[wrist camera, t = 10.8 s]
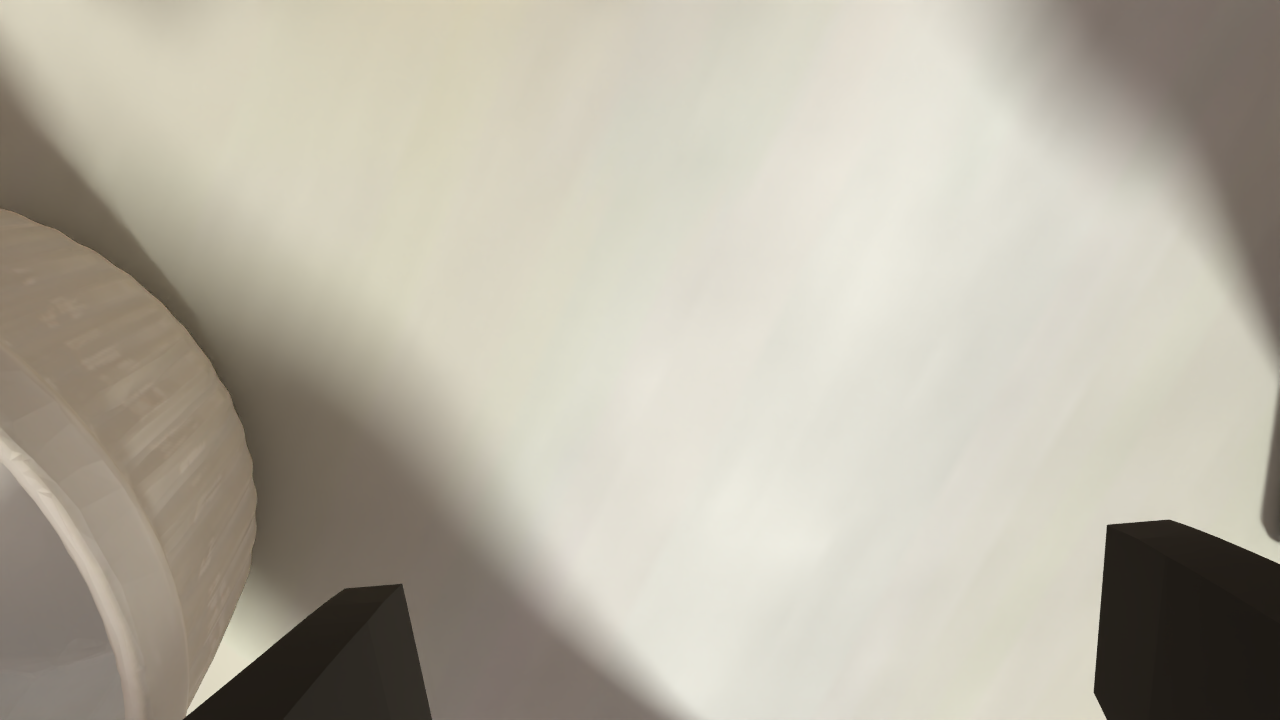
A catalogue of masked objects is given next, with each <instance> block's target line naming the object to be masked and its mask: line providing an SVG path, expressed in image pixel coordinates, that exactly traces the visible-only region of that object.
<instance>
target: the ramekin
mask: <svg viewBox="0 0 1280 720" xmlns="http://www.w3.org/2000/svg"><path fill="white" fill-rule="evenodd" d="M252 473H253V460H252V458H251V455H250V453H249V450H248V447H247V444H246V440H245V432H244V428H243V426H242V423H241V421H240V419H239V417H238V415H237V413H236V411H235V409H234V406H233V403H232V399H231V396H230V394H229V392H228V391H227V389H226V388H225V387H224V385H223V384H222V382H221V381H220V380H219V378H218V376H217V374H216V372H215V370H214V368H213V366H212V364H211V362H210V360H209V359H208V358H207V356H206V355H205V354H204V353H203V351H202V350H201V349H200V347H199V346H198V345H197V344H196V342H195V341H194V339H193V338H192V337H191V335H190V334H189V332H188V331H187V329H186V328H185V327H184V326H183V325H182V324H181V323H180V322H179V321H178V320H177V319H176V318H175V317H174V316H173V315H172V314H171V313H170V312H169V310H168V309H167V308H166V307H165V306H164V305H163V304H162V302H160V301H159V300H158V299H157V298H155V297H154V296H153V295H152V294H151V293H149V292H148V291H147V290H146V289H145V288H144V287H143V286H142V285H140V284H139V283H138V282H137V281H136V280H135V279H134V278H133V277H132V276H131V275H130V274H128V273H126V272H125V271H123V270H121V269H119V268H118V267H116V266H115V265H113V264H112V263H111V262H109V261H108V260H107V259H105V258H104V257H103V256H101V255H100V254H99V253H97V252H96V251H94V250H92V249H90V248H88V247H86V246H83V245H81V244H79V243H77V242H75V241H73V240H72V239H70V238H69V237H67V236H66V235H65V234H63V233H62V232H60V231H59V230H57V229H54V228H51V227H48V226H45V225H42V224H39V223H36V222H34V221H32V220H30V219H28V218H26V217H25V216H23V215H20V214H18V213H15V212H13V211H8V210H4V209H0V720H183V719H184V718H185V717H186V713H187V709H188V708H189V706H190V704H191V702H192V700H193V698H194V696H195V694H196V692H197V690H198V688H199V686H200V684H201V682H202V680H203V678H204V676H205V674H206V672H207V670H208V668H209V666H210V664H211V662H212V661H213V659H214V656H215V654H216V652H217V649H218V647H219V645H220V643H221V640H222V638H223V636H224V634H225V631H226V629H227V627H228V624H229V622H230V620H231V617H232V615H233V613H234V610H235V608H236V605H237V603H238V600H239V598H240V595H241V593H242V591H243V588H244V586H245V583H246V580H247V578H248V575H249V573H250V568H251V562H252V556H251V551H252V548H253V545H254V542H255V539H256V531H257V525H256V518H255V511H256V507H257V500H258V499H257V492H256V488H255V485H254V482H253V476H252Z"/></svg>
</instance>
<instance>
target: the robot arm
mask: <svg viewBox="0 0 1280 720" xmlns="http://www.w3.org/2000/svg"><path fill="white" fill-rule="evenodd" d="M1094 694H1095V696H1096V698H1097V700H1098V702H1099V704H1100V706H1101V708H1102V710H1103V712H1104V714H1105V716H1106V719H1107V720H1280V564H1278V563H1276V562H1273V561H1271V560H1269V559H1267V558H1264V557H1262V556H1260V555H1258V554H1255V553H1253V552H1251V551H1248V550H1246V549H1244V548H1241V547H1239V546H1237V545H1234V544H1232V543H1230V542H1227V541H1225V540H1223V539H1220V538H1218V537H1215V536H1213V535H1210V534H1208V533H1205V532H1203V531H1200V530H1197V529H1195V528H1192V527H1189V526H1186V525H1184V524H1181V523H1178V522H1175V521H1172V520H1159V521H1147V522H1135V523H1123V524H1111V525H1107V533H1106V545H1105V558H1104V570H1103V583H1102V595H1101V608H1100V620H1099V633H1098V645H1097V658H1096V670H1095V683H1094ZM183 720H432V718H431V713H430V708H429V704H428V699H427V695H426V690H425V686H424V681H423V676H422V672H421V667H420V663H419V658H418V654H417V649H416V644H415V640H414V635H413V631H412V626H411V622H410V617H409V612H408V608H407V603H406V599H405V594H404V590H403V585H402V584H395V585H383V586H371V587H360V588H348V589H344V590H342V591H341V592H340V593H338V594H337V595H335V596H334V597H332V598H331V599H330V600H328V601H327V602H326V603H324V604H323V605H322V606H321V607H319V608H318V609H317V610H316V611H314V612H313V613H312V614H310V615H309V616H308V617H307V618H306V619H304V620H303V621H302V622H301V623H299V624H298V625H297V626H296V627H295V628H293V629H292V630H291V631H290V632H288V633H287V634H286V635H285V636H284V637H282V638H281V639H280V640H279V641H278V642H276V643H275V644H274V645H273V646H272V647H270V648H269V649H268V650H267V651H266V652H264V653H263V654H262V655H261V656H260V657H258V658H257V659H256V660H255V661H254V662H252V663H251V664H250V665H249V666H248V667H246V668H245V669H244V670H243V671H241V672H240V673H239V674H238V675H237V676H235V677H234V678H233V679H232V680H230V681H229V682H228V683H227V684H226V685H224V686H223V687H222V688H221V689H220V690H218V691H217V692H216V693H215V694H213V695H212V696H211V697H210V698H209V699H207V700H206V701H205V702H204V703H202V704H201V705H200V706H199V707H198V708H196V709H195V710H194V711H193V712H191V713H190V714H189V715H188V716H186V717H185V718H184V719H183Z"/></svg>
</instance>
